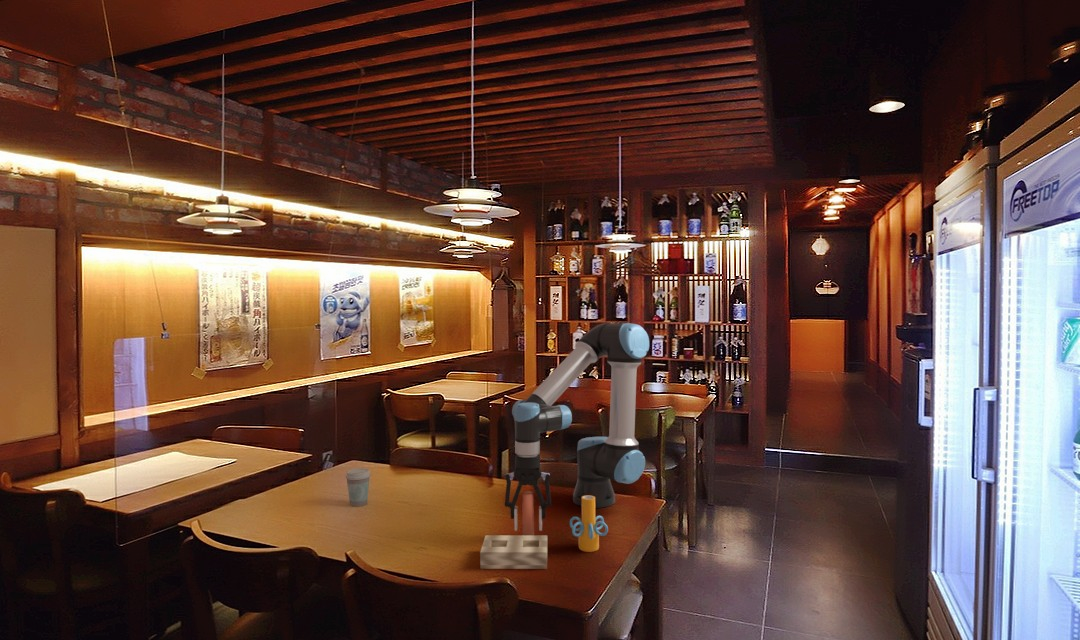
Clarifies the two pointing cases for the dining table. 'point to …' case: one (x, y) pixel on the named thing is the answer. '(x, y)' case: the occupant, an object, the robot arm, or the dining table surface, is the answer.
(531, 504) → the dowel
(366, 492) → the coffee cup
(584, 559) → the dining table surface
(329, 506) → the dining table surface
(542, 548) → the socket block
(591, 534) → the cylinder
